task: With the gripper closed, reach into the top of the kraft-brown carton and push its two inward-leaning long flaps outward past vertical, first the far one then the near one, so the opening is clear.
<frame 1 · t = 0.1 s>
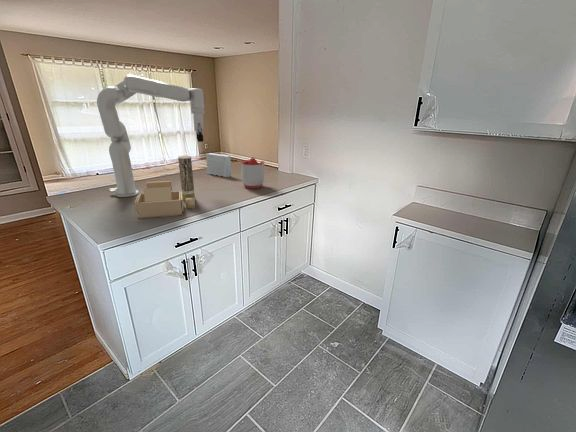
hand: (200, 140, 181), 31 cm above the counter, fingers open, 9 cm apart
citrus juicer: (253, 186, 202), on the counter
near flap: (157, 194, 143), point 11 cm above the counter, hinge at -25.0°
skincare box: (219, 175, 229), on the counter
white-capped tan cylinder: (190, 207, 160), on the counter
far flap: (159, 186, 155), point 11 cm above the counter, hinge at -25.0°
paper tube: (188, 199, 172), on the counter
carton: (161, 211, 153), on the counter
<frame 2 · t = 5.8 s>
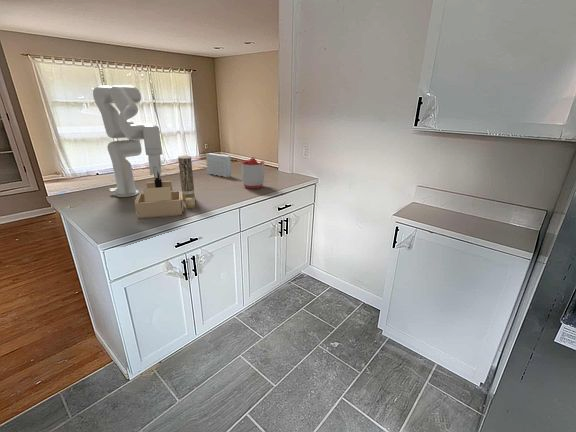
hand: (158, 187, 152), 12 cm above the counter, fingers closed
far flap: (159, 186, 155), point 11 cm above the counter, hinge at -24.5°, touching gripper
everything else where it was.
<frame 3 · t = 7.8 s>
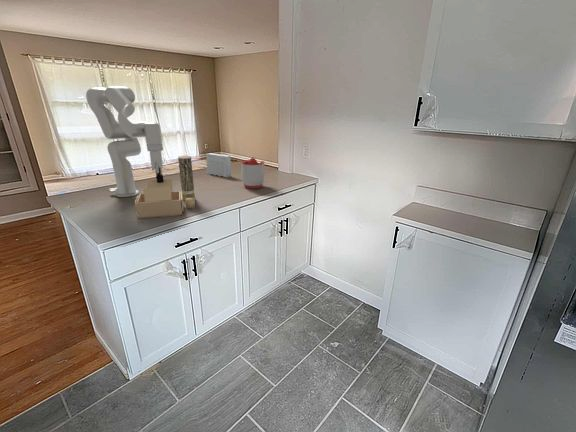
hand: (160, 182, 158), 13 cm above the counter, fingers closed
far flap: (160, 185, 158), point 11 cm above the counter, hinge at 37.4°, touching gripper
everything else where it was.
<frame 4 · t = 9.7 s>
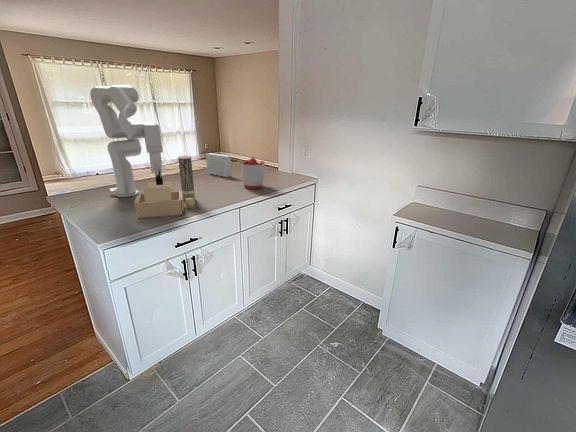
hand: (159, 184, 155), 13 cm above the counter, fingers closed
far flap: (160, 186, 159), point 10 cm above the counter, hinge at 56.3°
everything else where it was.
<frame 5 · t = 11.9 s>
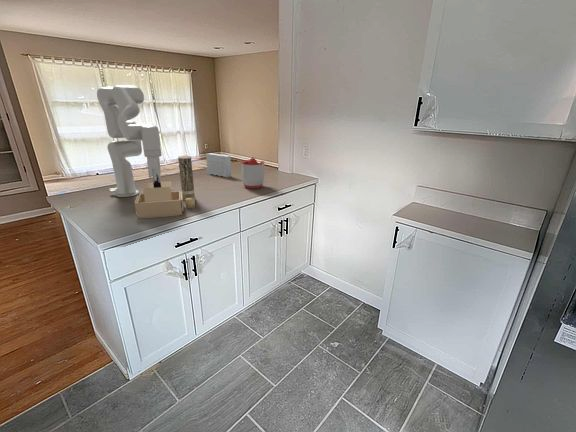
hand: (158, 190, 145), 13 cm above the counter, fingers closed
near flap: (157, 194, 143), point 11 cm above the counter, hinge at -23.3°, touching gripper
everything else where it was.
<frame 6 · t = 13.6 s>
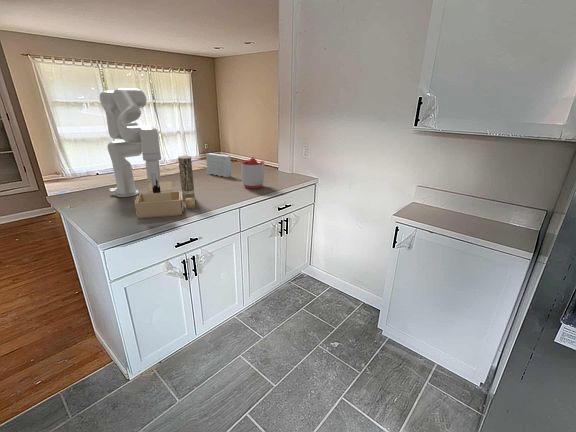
hand: (157, 195, 139), 12 cm above the counter, fingers closed
near flap: (157, 197, 140), point 11 cm above the counter, hinge at 38.0°, touching gripper
everything else where it was.
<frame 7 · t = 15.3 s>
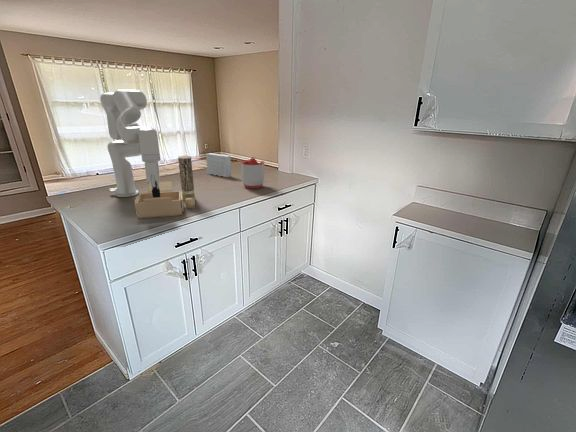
hand: (156, 196, 137), 12 cm above the counter, fingers closed
near flap: (157, 199, 139), point 10 cm above the counter, hinge at 60.3°
everything else where it was.
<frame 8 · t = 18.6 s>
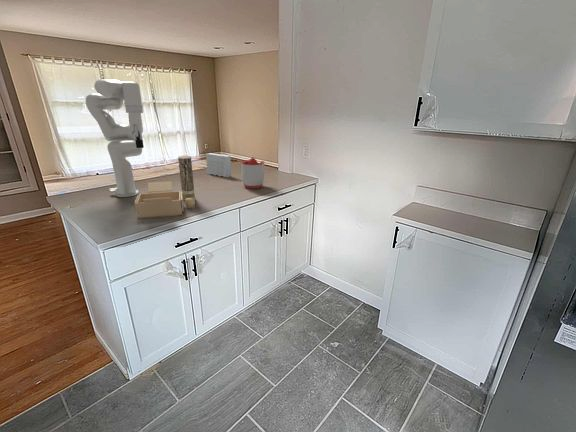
hand: (140, 147, 150), 31 cm above the counter, fingers closed
near flap: (157, 199, 139), point 10 cm above the counter, hinge at 60.7°
everything else where it was.
at the end: near flap at +61° (first picture: -25°); far flap at +57° (first picture: -25°) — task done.
